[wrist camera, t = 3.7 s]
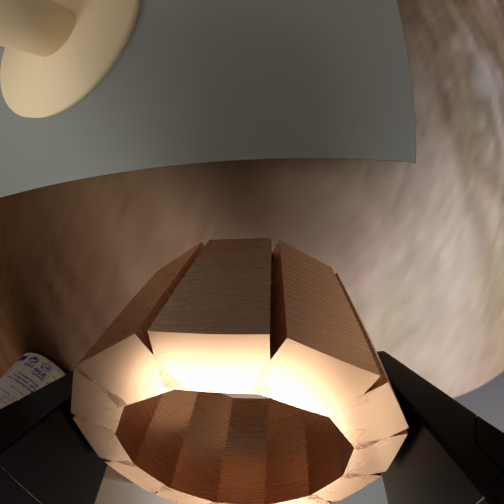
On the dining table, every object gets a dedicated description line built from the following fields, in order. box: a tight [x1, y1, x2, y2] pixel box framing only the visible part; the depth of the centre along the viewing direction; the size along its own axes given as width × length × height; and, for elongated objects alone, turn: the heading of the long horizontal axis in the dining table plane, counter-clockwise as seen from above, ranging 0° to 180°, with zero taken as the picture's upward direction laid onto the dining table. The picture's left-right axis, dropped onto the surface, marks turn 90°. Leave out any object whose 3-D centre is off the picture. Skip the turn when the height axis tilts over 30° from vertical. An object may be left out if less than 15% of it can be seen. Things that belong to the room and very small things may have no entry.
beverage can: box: [0, 352, 66, 409], centre depth 9 cm, size 6×6×15 cm
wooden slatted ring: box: [71, 238, 409, 504], centre depth 6 cm, size 6×6×4 cm
